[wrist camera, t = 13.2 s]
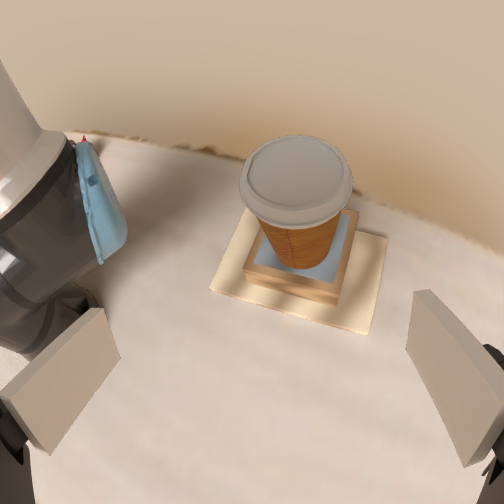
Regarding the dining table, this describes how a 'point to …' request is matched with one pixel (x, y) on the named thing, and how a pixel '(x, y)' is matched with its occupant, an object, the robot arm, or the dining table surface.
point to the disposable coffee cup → (297, 195)
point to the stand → (306, 275)
